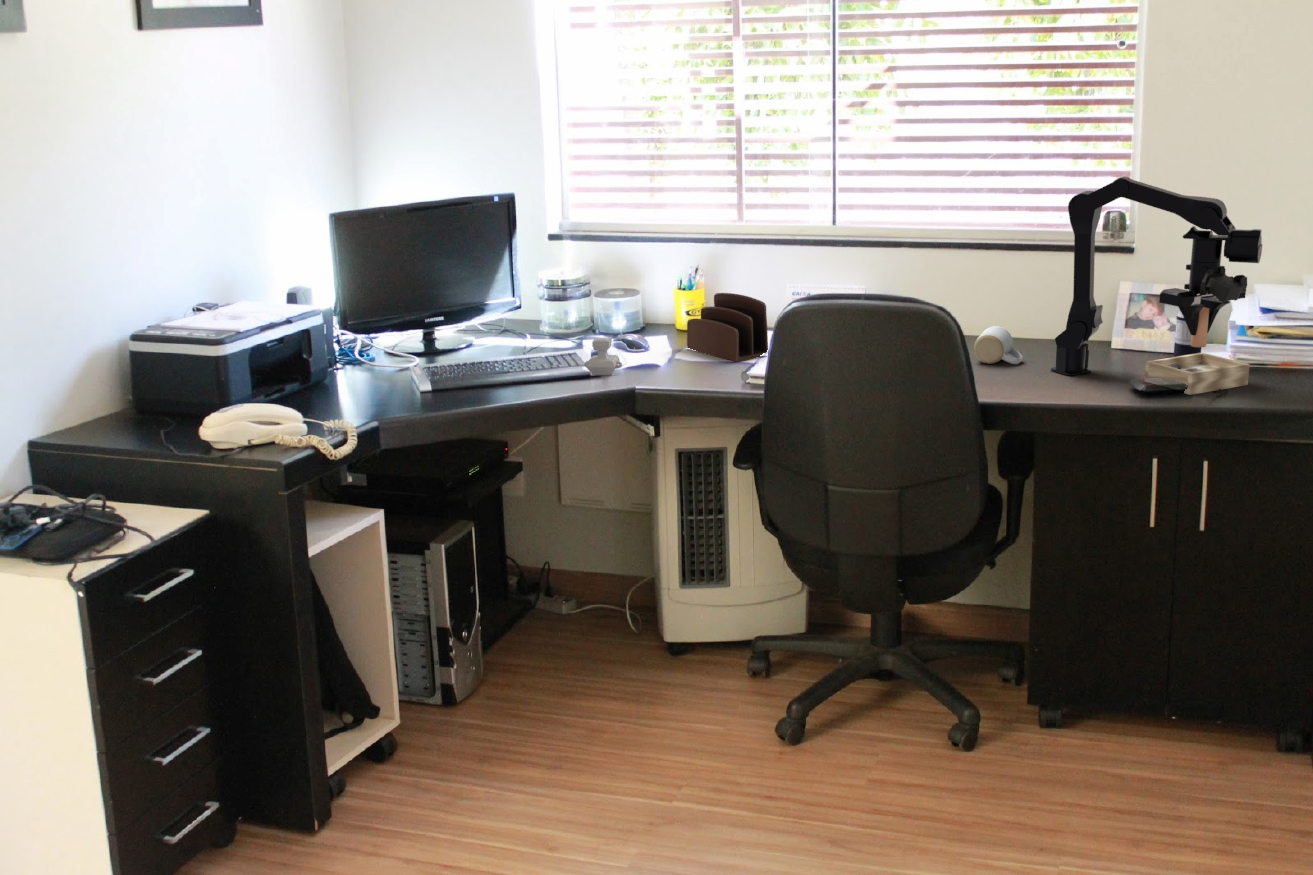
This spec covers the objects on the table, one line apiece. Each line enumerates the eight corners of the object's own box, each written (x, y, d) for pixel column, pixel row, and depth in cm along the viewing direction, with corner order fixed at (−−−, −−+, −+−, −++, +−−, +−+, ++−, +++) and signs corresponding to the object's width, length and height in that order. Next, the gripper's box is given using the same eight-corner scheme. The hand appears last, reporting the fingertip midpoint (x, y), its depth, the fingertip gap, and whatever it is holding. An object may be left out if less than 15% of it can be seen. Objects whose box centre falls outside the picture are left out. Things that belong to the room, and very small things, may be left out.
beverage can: (1202, 366, 295) (1206, 313, 292) (1175, 366, 296) (1179, 313, 293) (1197, 360, 301) (1201, 308, 297) (1171, 360, 302) (1175, 308, 298)
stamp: (625, 370, 310) (623, 335, 307) (619, 377, 303) (618, 341, 301) (587, 370, 311) (585, 335, 309) (581, 377, 305) (579, 341, 302)
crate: (1190, 394, 272) (1192, 373, 271) (1144, 381, 284) (1145, 361, 283) (1247, 384, 279) (1249, 364, 277) (1200, 372, 290) (1202, 352, 289)
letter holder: (717, 344, 335) (716, 289, 331) (769, 356, 320) (768, 299, 316) (686, 350, 329) (685, 294, 325) (737, 363, 314) (736, 304, 310)
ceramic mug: (971, 363, 305) (973, 331, 303) (979, 356, 312) (981, 324, 310) (1017, 368, 300) (1019, 335, 298) (1025, 360, 307) (1027, 328, 305)
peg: (1198, 347, 277) (1201, 310, 275) (1187, 345, 280) (1190, 308, 277) (1209, 346, 278) (1212, 308, 276) (1198, 343, 281) (1201, 306, 279)
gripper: (1201, 270, 263) (1195, 346, 268) (1270, 261, 270) (1262, 336, 275) (1160, 262, 273) (1154, 336, 277) (1227, 254, 280) (1220, 326, 285)
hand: (1199, 334), depth 278 cm, fingers closed on peg, 3 cm apart
